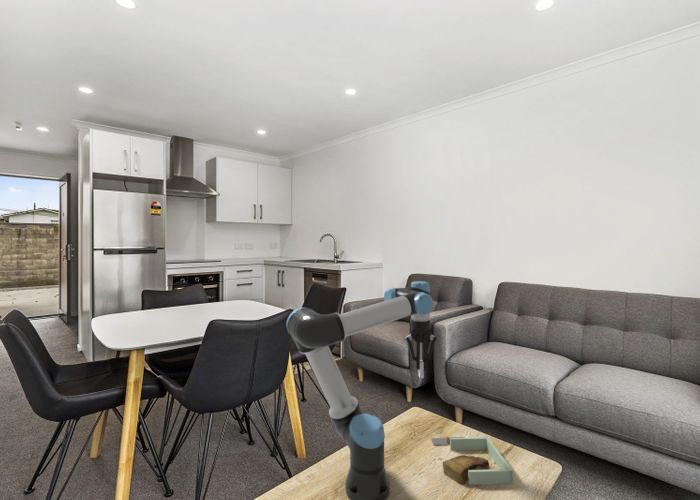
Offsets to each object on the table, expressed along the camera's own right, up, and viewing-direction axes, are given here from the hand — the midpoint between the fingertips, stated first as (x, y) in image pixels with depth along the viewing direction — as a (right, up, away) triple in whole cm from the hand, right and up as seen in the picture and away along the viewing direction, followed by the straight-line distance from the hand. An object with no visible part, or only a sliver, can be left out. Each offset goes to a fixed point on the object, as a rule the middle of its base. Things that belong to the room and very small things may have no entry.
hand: (421, 376), depth 148 cm
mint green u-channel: (+20, -29, -11) cm, 37 cm away
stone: (+13, -30, -16) cm, 37 cm away
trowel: (+12, -29, +5) cm, 32 cm away
